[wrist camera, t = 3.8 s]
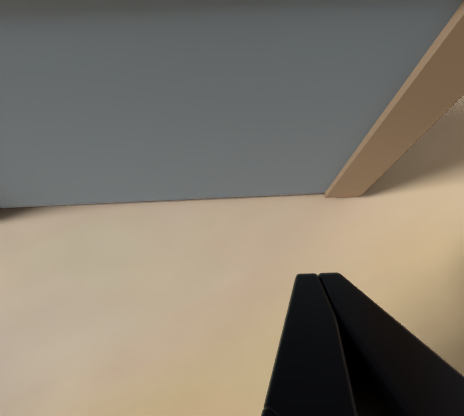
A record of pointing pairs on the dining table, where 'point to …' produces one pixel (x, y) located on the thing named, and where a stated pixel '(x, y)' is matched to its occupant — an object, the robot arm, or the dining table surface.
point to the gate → (217, 95)
